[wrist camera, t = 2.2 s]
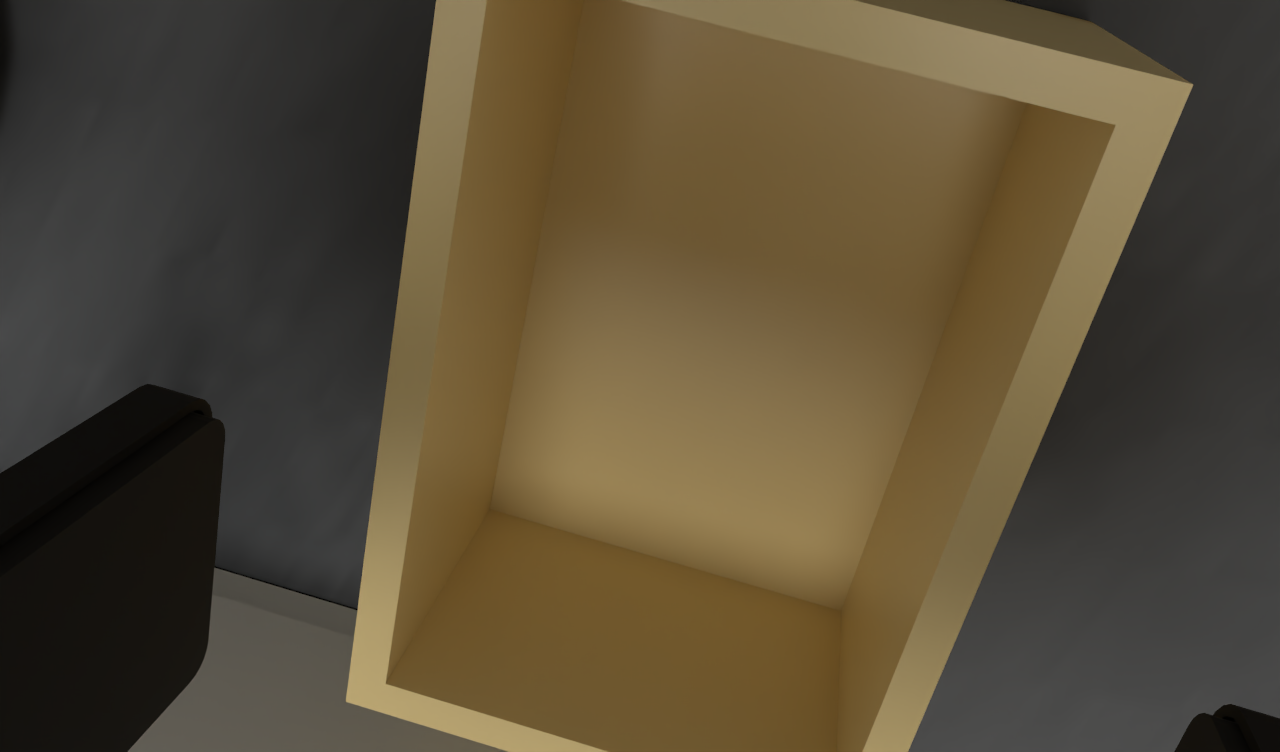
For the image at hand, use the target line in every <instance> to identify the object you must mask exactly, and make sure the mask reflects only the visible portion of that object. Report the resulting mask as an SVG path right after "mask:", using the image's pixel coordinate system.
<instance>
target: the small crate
mask: <svg viewBox="0 0 1280 752" xmlns="http://www.w3.org/2000/svg"><path fill="white" fill-rule="evenodd" d="M1192 87H1193V84H1192V83H1190V82H1188V81H1187V80H1185V79H1184V78H1182V77H1180V76H1179V75H1177V74H1175V73H1174V72H1172V71H1171V70H1169V69H1167V68H1166V67H1164V66H1162V65H1161V64H1159V63H1158V62H1156V61H1154V60H1153V59H1151V58H1149V57H1148V56H1146V55H1145V54H1143V53H1141V52H1140V51H1138V50H1137V49H1135V48H1133V47H1132V46H1130V45H1128V44H1127V43H1125V42H1124V41H1122V40H1120V39H1119V38H1117V37H1115V36H1114V35H1112V34H1111V33H1109V32H1107V31H1106V30H1104V29H1102V28H1101V27H1099V26H1098V25H1096V24H1094V23H1093V22H1091V21H1087V20H1083V19H1079V18H1075V17H1071V16H1067V15H1063V14H1059V13H1055V12H1050V11H1046V10H1042V9H1038V8H1034V7H1030V6H1026V5H1022V4H1018V3H1014V2H1010V1H1006V0H436V6H435V14H434V22H433V29H432V37H431V45H430V53H429V60H428V68H427V76H426V84H425V91H424V99H423V107H422V115H421V122H420V130H419V138H418V146H417V153H416V161H415V169H414V177H413V184H412V192H411V200H410V207H409V215H408V223H407V231H406V238H405V246H404V254H403V262H402V269H401V277H400V285H399V293H398V300H397V308H396V316H395V324H394V331H393V339H392V347H391V355H390V362H389V370H388V378H387V386H386V393H385V401H384V409H383V417H382V424H381V432H380V440H379V447H378V455H377V463H376V471H375V478H374V486H373V494H372V502H371V509H370V517H369V525H368V533H367V540H366V548H365V556H364V564H363V571H362V579H361V587H360V595H359V602H358V610H357V618H356V626H355V633H354V641H353V649H352V657H351V664H350V672H349V680H348V687H347V695H346V702H348V703H352V704H355V705H358V706H361V707H365V708H368V709H371V710H374V711H378V712H381V713H384V714H387V715H391V716H394V717H397V718H401V719H404V720H407V721H410V722H414V723H417V724H420V725H423V726H427V727H430V728H433V729H436V730H440V731H443V732H446V733H449V734H453V735H456V736H459V737H462V738H466V739H469V740H472V741H476V742H479V743H482V744H485V745H489V746H492V747H495V748H498V749H502V750H505V751H508V752H908V750H909V748H910V746H911V743H912V741H913V739H914V736H915V734H916V732H917V729H918V727H919V725H920V722H921V720H922V718H923V715H924V713H925V711H926V708H927V706H928V704H929V701H930V699H931V697H932V694H933V692H934V690H935V687H936V685H937V683H938V680H939V678H940V676H941V673H942V671H943V669H944V666H945V664H946V662H947V659H948V657H949V655H950V652H951V650H952V648H953V645H954V643H955V641H956V638H957V636H958V634H959V631H960V629H961V627H962V624H963V622H964V620H965V617H966V615H967V613H968V610H969V608H970V606H971V603H972V601H973V599H974V596H975V594H976V592H977V589H978V587H979V585H980V582H981V580H982V578H983V575H984V573H985V571H986V568H987V566H988V564H989V561H990V559H991V556H992V554H993V552H994V549H995V547H996V545H997V542H998V540H999V538H1000V535H1001V533H1002V531H1003V528H1004V526H1005V524H1006V521H1007V519H1008V517H1009V514H1010V512H1011V510H1012V507H1013V505H1014V503H1015V500H1016V498H1017V496H1018V493H1019V491H1020V489H1021V486H1022V484H1023V482H1024V479H1025V477H1026V475H1027V472H1028V470H1029V468H1030V465H1031V463H1032V461H1033V458H1034V456H1035V454H1036V451H1037V449H1038V447H1039V444H1040V442H1041V440H1042V437H1043V435H1044V433H1045V430H1046V428H1047V426H1048V423H1049V421H1050V419H1051V416H1052V414H1053V412H1054V409H1055V407H1056V405H1057V402H1058V400H1059V398H1060V395H1061V393H1062V391H1063V388H1064V386H1065V384H1066V381H1067V379H1068V377H1069V374H1070V372H1071V370H1072V367H1073V365H1074V362H1075V360H1076V358H1077V355H1078V353H1079V351H1080V348H1081V346H1082V344H1083V341H1084V339H1085V337H1086V334H1087V332H1088V330H1089V327H1090V325H1091V323H1092V320H1093V318H1094V316H1095V313H1096V311H1097V309H1098V306H1099V304H1100V302H1101V299H1102V297H1103V295H1104V292H1105V290H1106V288H1107V285H1108V283H1109V281H1110V278H1111V276H1112V274H1113V271H1114V269H1115V267H1116V264H1117V262H1118V260H1119V257H1120V255H1121V253H1122V250H1123V248H1124V246H1125V243H1126V241H1127V239H1128V236H1129V234H1130V232H1131V229H1132V227H1133V225H1134V222H1135V220H1136V218H1137V215H1138V213H1139V211H1140V208H1141V206H1142V204H1143V201H1144V199H1145V197H1146V194H1147V192H1148V190H1149V187H1150V185H1151V183H1152V180H1153V178H1154V176H1155V173H1156V171H1157V168H1158V166H1159V164H1160V161H1161V159H1162V157H1163V154H1164V152H1165V150H1166V147H1167V145H1168V143H1169V140H1170V138H1171V136H1172V133H1173V131H1174V129H1175V126H1176V124H1177V122H1178V119H1179V117H1180V115H1181V112H1182V110H1183V108H1184V105H1185V103H1186V101H1187V98H1188V96H1189V94H1190V91H1191V89H1192Z"/></svg>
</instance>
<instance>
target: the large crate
mask: <svg viewBox="0 0 1280 752" xmlns="http://www.w3.org/2000/svg"><path fill="white" fill-rule="evenodd" d="M356 618H357V610H354V609H351V608H347V607H344V606H341V605H337V604H334V603H331V602H327V601H324V600H321V599H317V598H314V597H311V596H307V595H304V594H301V593H297V592H294V591H291V590H287V589H284V588H281V587H277V586H274V585H271V584H267V583H264V582H261V581H257V580H254V579H251V578H247V577H244V576H241V575H237V574H234V573H231V572H227V571H224V570H221V569H217V568H214V578H213V590H212V603H211V615H210V627H209V640H208V646H207V651H206V654H205V657H204V660H203V662H202V664H201V667H200V669H199V670H198V672H197V674H196V676H195V677H194V678H193V679H192V681H191V682H190V683H189V684H188V685H187V687H186V688H185V689H184V690H183V691H182V692H181V693H180V694H179V695H178V697H177V698H176V699H175V700H174V701H173V702H172V703H171V704H170V705H169V706H168V708H167V709H166V710H165V711H164V712H163V713H162V714H161V715H160V716H159V717H158V719H157V720H156V721H155V722H154V723H153V724H152V725H151V726H150V727H149V729H148V730H147V731H146V732H145V733H144V734H143V735H142V736H141V737H140V738H139V740H138V741H137V742H136V743H135V744H134V745H133V746H132V747H131V748H130V750H129V751H128V752H508V751H505V750H502V749H498V748H495V747H492V746H489V745H485V744H482V743H479V742H476V741H472V740H469V739H466V738H462V737H459V736H456V735H453V734H449V733H446V732H443V731H440V730H436V729H433V728H430V727H427V726H423V725H420V724H417V723H414V722H410V721H407V720H404V719H401V718H397V717H394V716H391V715H387V714H384V713H381V712H378V711H374V710H371V709H368V708H365V707H361V706H358V705H355V704H352V703H348V702H346V695H347V687H348V680H349V672H350V664H351V657H352V649H353V641H354V633H355V626H356Z"/></svg>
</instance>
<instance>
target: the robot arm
mask: <svg viewBox="0 0 1280 752" xmlns="http://www.w3.org/2000/svg"><path fill="white" fill-rule="evenodd" d="M224 443H225V429H224V425H223V423H222V422H221V421H220V420H218V419H215V418H212V411H211V408H210V405H209V404H208V403H207V402H206V401H205V400H203V399H200V398H196V397H193V396H189V395H186V394H183V393H179V392H176V391H173V390H169V389H166V388H162V387H159V386H156V385H150V384H146V385H144V386H141V387H139V388H137V389H136V390H134V391H132V392H131V393H129V394H128V395H126V396H124V397H123V398H121V399H120V400H118V401H116V402H115V403H113V404H112V405H110V406H108V407H107V408H105V409H103V410H102V411H100V412H99V413H97V414H95V415H94V416H92V417H91V418H89V419H87V420H86V421H84V422H83V423H81V424H79V425H78V426H76V427H74V428H73V429H71V430H70V431H68V432H66V433H65V434H63V435H62V436H60V437H58V438H57V439H55V440H54V441H52V442H50V443H49V444H47V445H45V446H44V447H42V448H41V449H39V450H37V451H36V452H34V453H33V454H31V455H29V456H28V457H26V458H25V459H23V460H21V461H20V462H18V463H16V464H15V465H13V466H12V467H10V468H8V469H7V470H5V471H4V472H2V473H0V752H128V751H129V750H130V748H131V747H132V746H133V745H134V744H135V743H136V742H137V741H138V740H139V738H140V737H141V736H142V735H143V734H144V733H145V732H146V731H147V730H148V729H149V727H150V726H151V725H152V724H153V723H154V722H155V721H156V720H157V719H158V717H159V716H160V715H161V714H162V713H163V712H164V711H165V710H166V709H167V708H168V706H169V705H170V704H171V703H172V702H173V701H174V700H175V699H176V698H177V697H178V695H179V694H180V693H181V692H182V691H183V690H184V689H185V688H186V687H187V685H188V684H189V683H190V682H191V681H192V679H193V678H194V677H195V676H196V674H197V672H198V670H199V669H200V667H201V664H202V662H203V660H204V657H205V654H206V651H207V646H208V640H209V627H210V615H211V603H212V590H213V578H214V566H215V554H216V541H217V529H218V517H219V504H220V492H221V480H222V468H223V455H224ZM1175 752H1280V718H1276V717H1273V716H1269V715H1266V714H1263V713H1259V712H1256V711H1253V710H1249V709H1246V708H1242V707H1239V706H1236V705H1232V704H1228V705H1224V706H1222V707H1221V708H1220V709H1218V710H1217V711H1216V712H1215V713H1214V715H1209V714H1206V713H1202V714H1198V715H1197V716H1196V717H1195V718H1193V720H1192V721H1191V723H1190V724H1189V726H1188V728H1187V729H1186V731H1185V733H1184V735H1183V737H1182V739H1181V741H1180V743H1179V744H1178V746H1177V748H1176V750H1175Z"/></svg>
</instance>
